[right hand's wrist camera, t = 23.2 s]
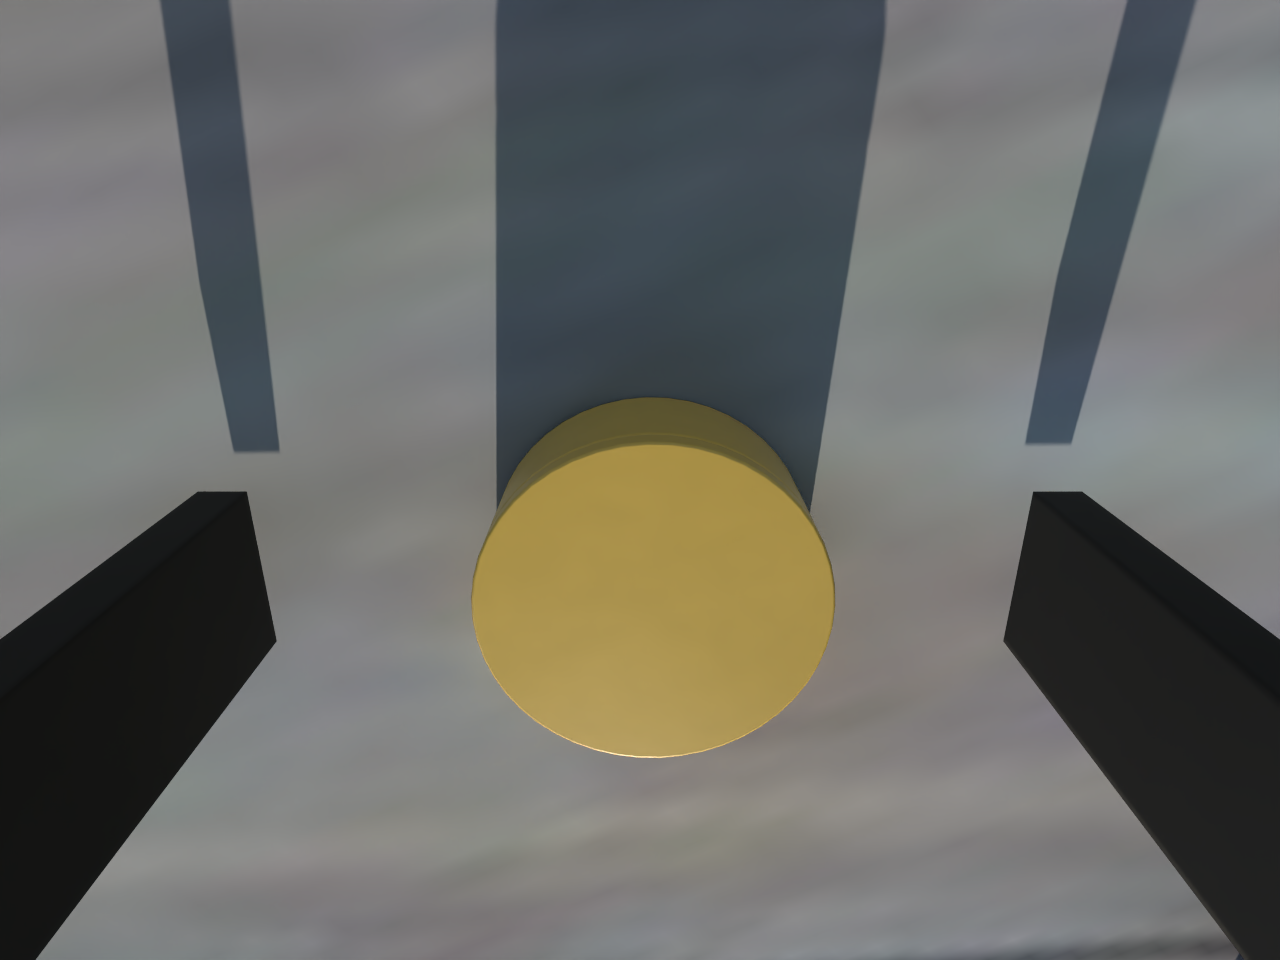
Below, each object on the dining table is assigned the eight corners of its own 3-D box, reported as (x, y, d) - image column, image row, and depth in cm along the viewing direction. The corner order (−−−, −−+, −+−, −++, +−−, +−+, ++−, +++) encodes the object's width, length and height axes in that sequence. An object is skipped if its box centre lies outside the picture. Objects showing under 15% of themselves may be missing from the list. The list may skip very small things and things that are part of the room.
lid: (431, 527, 13) (393, 594, 11) (674, 327, 12) (681, 361, 10) (632, 722, 15) (631, 812, 13) (866, 562, 14) (906, 633, 12)
